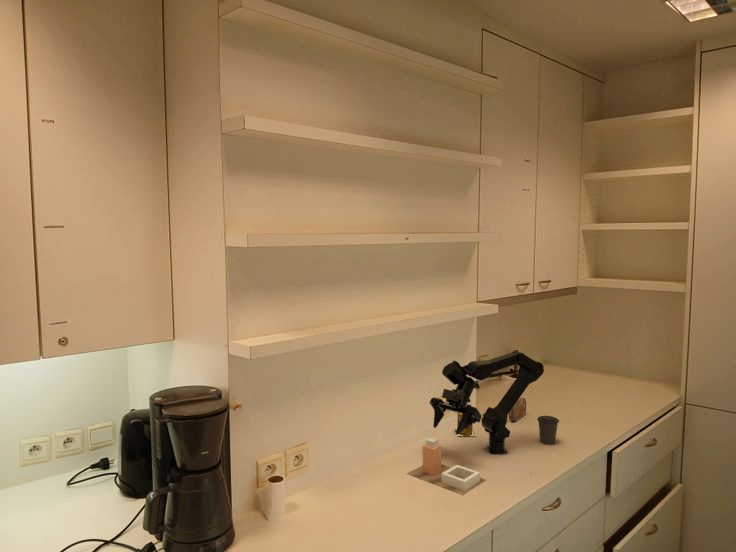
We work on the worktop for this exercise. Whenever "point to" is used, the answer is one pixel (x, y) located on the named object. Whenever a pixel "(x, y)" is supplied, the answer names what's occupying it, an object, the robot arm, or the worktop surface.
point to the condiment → (467, 430)
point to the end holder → (462, 484)
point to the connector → (432, 457)
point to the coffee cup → (547, 429)
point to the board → (437, 479)
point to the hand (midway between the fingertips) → (445, 430)
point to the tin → (518, 410)
